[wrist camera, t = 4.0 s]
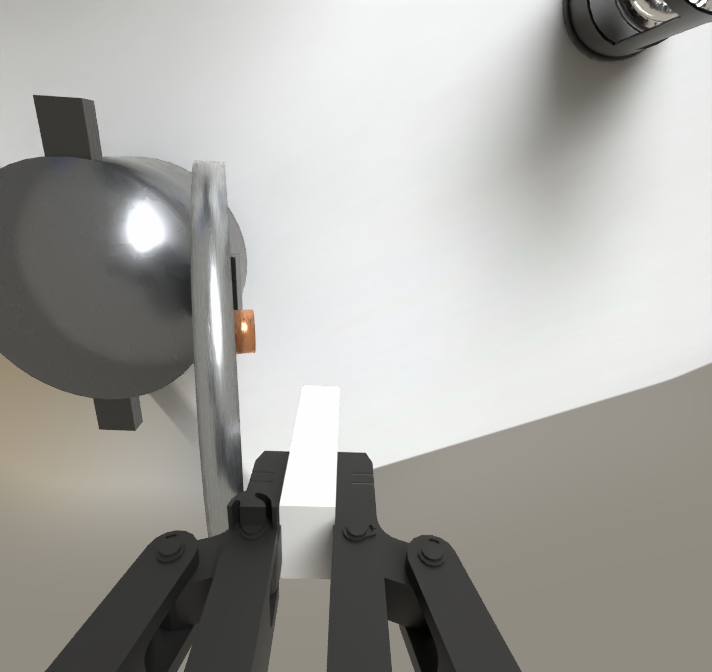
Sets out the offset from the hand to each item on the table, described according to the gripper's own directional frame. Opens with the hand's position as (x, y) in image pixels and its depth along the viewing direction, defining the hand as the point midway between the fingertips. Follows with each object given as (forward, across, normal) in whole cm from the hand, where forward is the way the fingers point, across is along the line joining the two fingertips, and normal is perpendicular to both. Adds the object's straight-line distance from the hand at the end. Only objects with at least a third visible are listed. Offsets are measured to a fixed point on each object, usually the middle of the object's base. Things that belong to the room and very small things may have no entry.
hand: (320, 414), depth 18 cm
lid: (+5, -6, 0) cm, 8 cm away
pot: (+27, -18, 0) cm, 32 cm away
